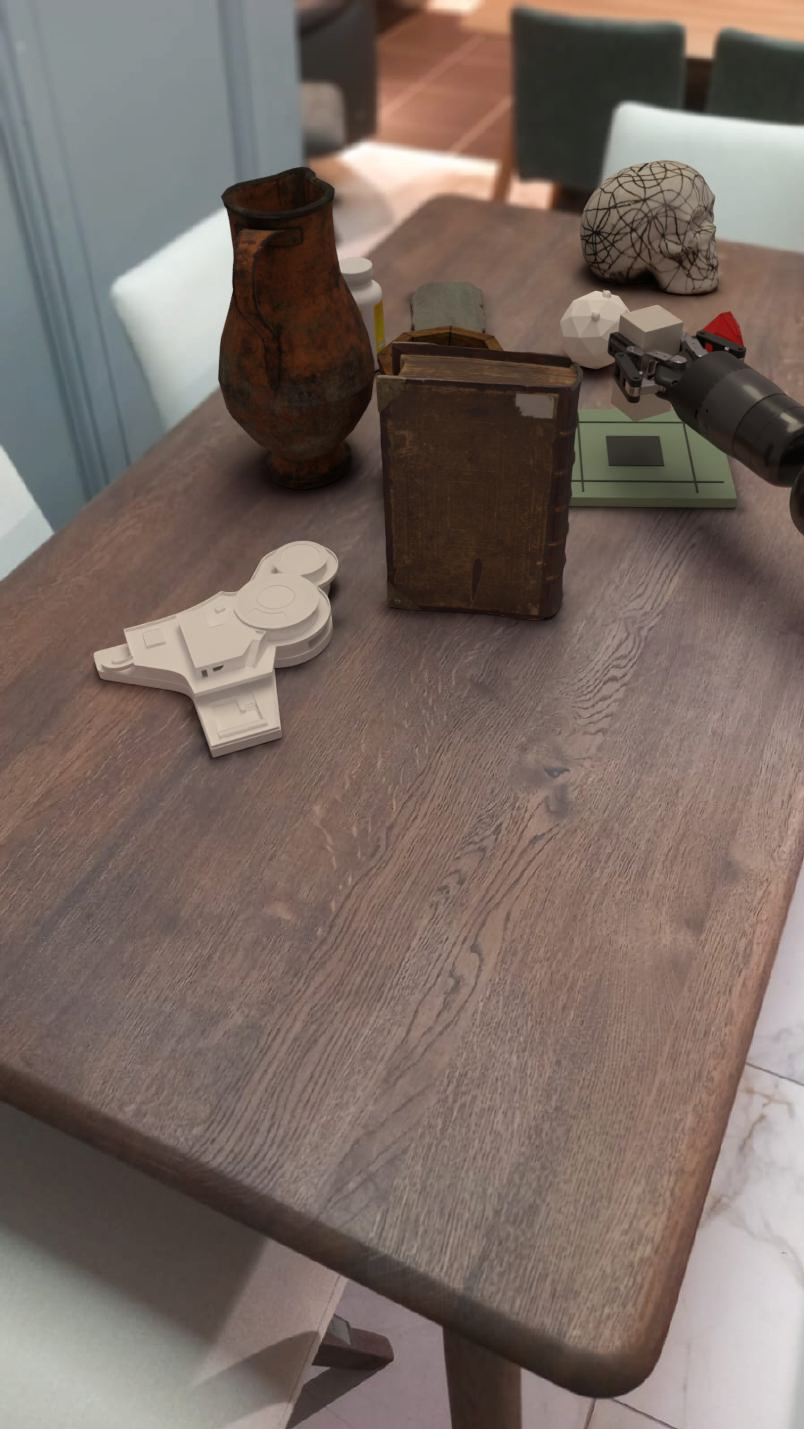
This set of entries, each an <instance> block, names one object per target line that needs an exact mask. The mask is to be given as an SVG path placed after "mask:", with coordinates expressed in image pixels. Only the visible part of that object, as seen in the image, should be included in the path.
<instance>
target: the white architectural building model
mask: <svg viewBox="0 0 804 1429" xmlns="http://www.w3.org/2000/svg"><path fill="white" fill-rule="evenodd" d="M339 565H340V564H339V560H338V557H337V555H336V554H335V553H334V552H333V551H332V550H331V549H329V548H328V547H326V546H323V545H321V544H319V543H317V542H314V541H310V540H295V541H291V542H289V543H285V544H283V545H282V546H280V547H278V548H276V549H274V550H272V551H270V552H268V553H266V554H265V556H263V557H262V558H261V559H260V561H259V563H258V565H257V567H256V569H255V570H254V572H253V574H252V576H251V578H250V580H249V581H248V582H247V583H246V584H244V585H243V586H242V587H241V588H240V589H239V590H236V591H223V590H220V591H219V592H217V593H215V594H214V595H213V596H211V597H209V598H207V599H205V600H204V601H201V602H200V603H198V604H196V605H194V606H192V607H189V608H187V609H185V610H182V611H180V612H176V613H174V614H171V615H168V616H165V617H163V618H159V619H156V620H152V621H149V622H144V623H142V624H138V625H134V626H130V627H126V628H123V633H124V637H125V640H126V642H127V643H122V644H119V645H116V646H111V647H108V648H104V649H100V650H97V651H95V652H94V653H93V660H94V663H95V667H96V670H97V673H98V676H99V679H102V680H104V681H109V682H110V681H111V682H116V683H122V684H129V685H136V686H143V687H147V688H155V689H160V690H161V689H162V690H166V691H167V690H168V691H174V692H178V693H181V694H184V695H186V696H187V697H189V698H190V699H191V701H192V703H193V705H194V708H195V711H196V714H197V717H198V720H199V722H200V725H201V728H202V731H203V733H204V736H205V739H206V743H207V745H208V748H209V751H210V753H211V758H212V759H213V758H218V757H221V756H225V755H228V754H231V753H235V752H238V751H240V750H244V749H248V748H251V747H255V746H258V745H261V744H265V743H268V742H272V741H276V740H278V739H282V738H283V733H282V732H283V731H282V724H281V723H282V722H281V714H280V706H279V705H280V704H279V695H278V687H277V679H276V678H277V677H276V670H275V669H276V668H277V669H280V668H288V667H293V666H297V665H301V664H303V663H306V662H308V661H310V660H312V659H313V658H315V657H317V656H318V655H319V654H321V653H322V652H323V651H324V650H325V649H326V647H328V645H329V644H330V642H331V640H332V637H333V634H334V626H333V617H332V607H331V602H330V599H329V593H330V589H331V582H332V581H334V579H335V578H336V576H337V575H338V573H339V567H340V566H339Z"/></svg>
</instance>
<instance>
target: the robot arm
mask: <svg viewBox="0 0 804 1429" xmlns="http://www.w3.org/2000/svg"><path fill="white" fill-rule="evenodd" d="M707 343H708V344H711V345H712V352H709V351H706V345H707ZM607 352H608V354H609V355H611V356H612V357H613V358H614V359H615V362H614V366H613V372H612V380H613V379H614V381H615V382H616V384H617V385H618V387H619V388H620V390H621V391H622V393H623V395H624V396H625V398H626V399H627V401H628V402H629V403H638V402H639V401H640V395H646V394H655V396H657V397H658V398H661V399H664V400H667V401H669V402H670V403H671V407H672V408H673V409H674V411H675V413H676V414H677V416H678V418H679V419H680V420H681V421H682V422H684V423H685V424H686V425H688V426H689V427H690V428H691V429H693V430H694V431H695V432H697V433H698V434H699V435H701V436H702V437H703V438H704V439H706V440H707V441H708V442H710V443H711V444H712V445H714V446H715V447H716V448H717V449H719V450H720V451H722V452H723V453H725V454H726V455H727V457H728V456H729V457H731V458H732V459H734V460H736V461H738V462H739V463H740V464H741V465H743V466H744V467H745V468H747V470H749V471H751V472H752V473H753V474H754V475H756V476H757V477H759V478H760V479H762V480H763V481H764V482H765V483H768V484H769V485H771V486H773V487H776V488H783V489H790V492H789V500H788V506H789V507H788V508H789V515H790V519H791V521H792V523H793V526H794V527H795V528H796V530H797V532H798V533H799V534H800V535H802V537H804V405H803V404H801V403H800V402H798V401H797V400H795V399H793V398H792V397H791V396H789V395H788V394H787V393H786V392H785V391H784V390H782V388H781V387H780V386H779V385H777V384H776V383H775V382H774V381H772V380H771V379H770V378H768V377H767V376H765V375H763V374H762V373H760V372H759V371H757V370H756V369H755V368H753V367H751V366H750V365H748V364H747V363H745V360H746V354H747V347H746V346H745V345H744V346H741V345H739V344H736V343H734V342H731V341H729V340H726V339H724V338H722V337H719V336H717V335H714V334H712V333H709V332H707V331H703V330H702V329H700V330H697V331H696V333H695V334H694V335H691V334H690V333H689V332H688V331H682V336H681V341H680V349H679V352H678V353H676V354H674V355H670V354H667V353H665V352H662V351H660V350H657V349H654V348H653V349H651V350H649V351H647V350H644V349H642V348H639V347H637V346H635V344H634V343H633V342H631V341H630V340H628V339H627V338H626V337H624V336H623V335H622V334H620V333H619V332H614V333H611V334H610V337H609V340H608V350H607ZM638 359H640V360H642V363H643V364H642V367H639V366H637V362H638ZM656 362H657V363H656ZM655 363H656V366H655ZM654 371H655V373H654Z"/></svg>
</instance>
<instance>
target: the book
mask: <svg viewBox="0 0 804 1429" xmlns="http://www.w3.org/2000/svg"><path fill="white" fill-rule="evenodd" d="M391 353H392V373H393V375H380V374H378V375H376V382H375V384H376V385H375V388H376V390H375V391H376V403H377V404H376V405H377V412H378V413H379V415H378V416H379V429H380V430H379V431H380V432H379V433H380V434H379V435H380V454H381V467H382V468H381V472H382V492H383V509H384V510H383V511H384V536H385V537H384V538H385V563H386V597H387V599H386V600H387V606H388V607H391V608H397V609H402V610H403V609H404V610H415V611H441V612H444V611H445V612H462V613H463V612H464V613H465V612H466V613H476V614H486V615H487V614H488V615H495V616H502V617H507V618H511V619H518V620H528V621H541V620H542V621H543V619H545V618H550V617H552V616H554V615H555V613H557V612H558V610H559V609H560V607H561V605H562V602H563V599H564V590H563V586H564V585H563V584H564V583H563V582H564V580H563V578H564V568H565V566H566V564H567V554H566V546H567V539H568V538H567V537H568V534H569V532H570V522H569V515H570V506H569V505H570V499H571V497H572V488H571V482H572V470H573V465H574V463H575V455H576V453H575V450H574V446H575V434H576V428H577V426H578V422H579V416H578V409H579V400H580V394H581V387H582V383H583V377H584V372H583V369H582V368H581V366H580V365H579V364H578V363H577V362H574V361H572V360H571V359H570V357H569V356H568V355H567V354H566V355H565V354H556V353H549V352H548V353H547V352H536V351H513V350H512V351H511V350H504V351H502V350H494V349H480V348H466V347H453V346H443V345H437V344H434V343H425V342H393V343H392V345H391Z"/></svg>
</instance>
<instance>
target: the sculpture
mask: <svg viewBox="0 0 804 1429" xmlns="http://www.w3.org/2000/svg"><path fill="white" fill-rule="evenodd" d="M715 202H716V195H715V194H714V192H713V191H712V190H711V188H710V186H709V184H708V183H707V181H706V180H705V177H704V176H703V175H702V174H701V173H700V172H699V171H698V170H697V169H695V168H693V167H692V166H691V165H688V164H686V163H684V162H681V161H678V160H677V161H676V160H669V159H662V160H661V159H660V160H656V161H650V162H643V163H638V164H634V165H631V166H628V167H624V168H622V169H620V170H619V171H617V172H616V173H614V174H612V175H611V176H608V178H606V179H605V180H604V181H603V182H602V183H601V184H600V185H599V186H598V187H597V188H596V189H595V190H594V192H592V194H591V196H590V197H589V199H588V201H587V202H586V204H585V206H584V208H583V212H582V215H581V220H580V227H579V237H580V246H581V251H582V252H581V253H582V255H583V258H584V261H585V263H586V264H587V266H588V268H589V269H590V270H591V271H592V273H593V274H594V275H595V276H596V278H598V279H599V280H600V281H602V282H607V283H610V284H628V285H629V284H630V285H634V284H635V285H636V284H639V283H648V282H653V283H654V284H655V285H656V286H658V287H659V289H660V290H661V291H662V292H666V293H672V294H679V295H681V294H682V295H703V294H705V293H711V292H713V291H714V290H716V288H717V287H718V285H719V282H720V275H719V272H718V271H719V270H718V269H719V264H720V263H719V256H718V249H717V241H716V233H717V226H716V225H715V223H714V221H715V215H714V214H715V213H714V206H715Z"/></svg>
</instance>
